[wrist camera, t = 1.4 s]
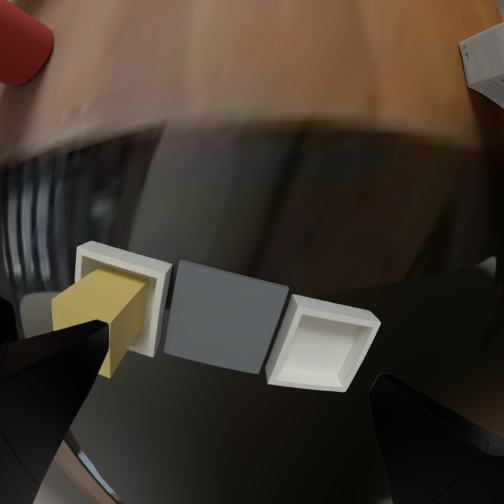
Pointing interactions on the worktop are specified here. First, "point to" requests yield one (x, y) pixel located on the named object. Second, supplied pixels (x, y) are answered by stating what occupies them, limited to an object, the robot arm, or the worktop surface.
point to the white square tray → (320, 345)
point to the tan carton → (105, 309)
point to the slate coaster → (222, 317)
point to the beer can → (21, 45)
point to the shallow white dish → (149, 268)
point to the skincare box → (485, 63)
